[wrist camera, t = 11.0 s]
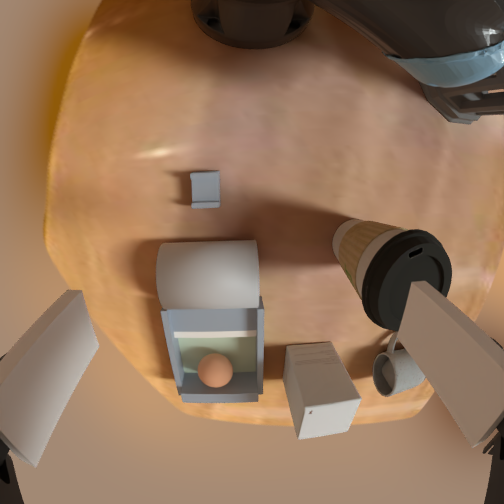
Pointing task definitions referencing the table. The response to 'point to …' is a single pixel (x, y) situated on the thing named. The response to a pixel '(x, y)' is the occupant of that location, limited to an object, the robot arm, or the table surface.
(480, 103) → the lantern
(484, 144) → the table surface
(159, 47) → the table surface
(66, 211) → the table surface
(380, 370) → the ceramic mug
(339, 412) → the supplement box
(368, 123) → the table surface
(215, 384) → the ball
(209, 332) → the grey molded pieces
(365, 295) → the coffee cup
